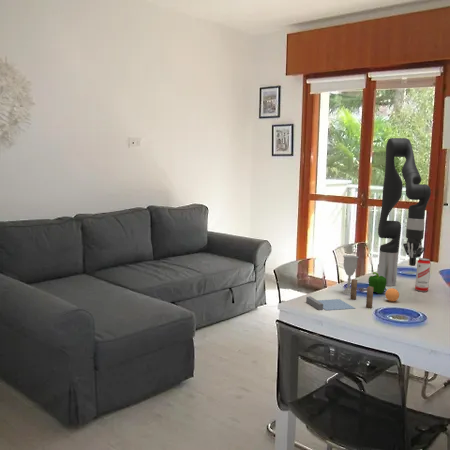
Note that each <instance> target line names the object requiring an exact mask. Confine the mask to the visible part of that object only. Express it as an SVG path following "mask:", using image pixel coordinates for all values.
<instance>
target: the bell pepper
mask: <svg viewBox="0 0 450 450" xmlns="http://www.w3.org/2000/svg"><path fill="white" fill-rule="evenodd" d="M386 282H387V280H386V278H384V277H383V276H379V275H378V273H377V271H376V272H375V271H373V272H372V275H370V276H369V277H368V287H369V286H370V287H374V289H373V292H377V293H376V294H383V293H384V292H385V289H386Z"/></svg>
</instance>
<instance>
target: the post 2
mask: <svg viewBox="0 0 450 450" xmlns="http://www.w3.org/2000/svg"><path fill="white" fill-rule="evenodd" d="M373 289H374V287H370V286H369V285H368V286H367V289H366V298H365V299H366V300H365V304H366V305H365V308H367V309H372V308H373V303H374V302H373V300H374V293H373Z"/></svg>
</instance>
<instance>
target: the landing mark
mask: <svg viewBox="0 0 450 450" xmlns="http://www.w3.org/2000/svg"><path fill="white" fill-rule="evenodd" d="M316 300H317V299H316ZM317 301H319V302H321V303H322V304H323V310H324V311H337V310H353V309H356V307H354V306H353V305H350V304H349V303H347V302H345V301H344V300H342V299H341V298H340V299H339V298H336V299H335V298H334V299H319V300H317Z"/></svg>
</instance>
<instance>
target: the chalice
mask: <svg viewBox="0 0 450 450" xmlns="http://www.w3.org/2000/svg"><path fill="white" fill-rule="evenodd" d="M342 257H343V270H344V272H345V274H346V275H347V276H348V277H347V283H346V284H347V287H345V289H344V290H343V292H342V294H344V295H348V296H351V281H352V279H351V277H352V276H353V275H354V273H355V272H356V270H357V268H358V260H359V257H360V256H357V255H352V254H345V255H342Z"/></svg>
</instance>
